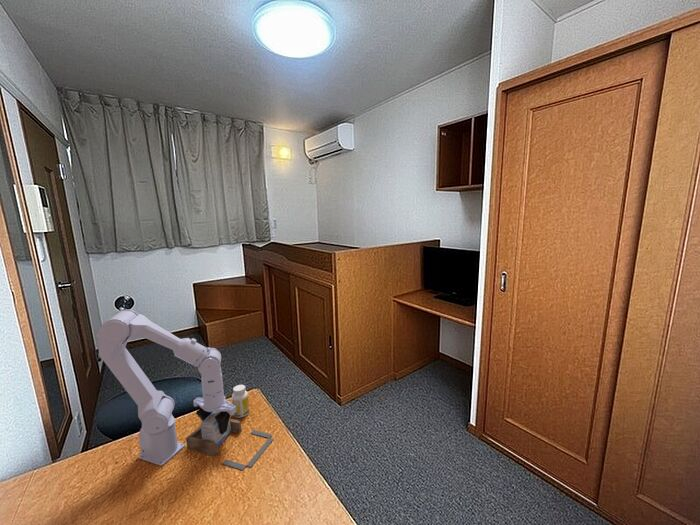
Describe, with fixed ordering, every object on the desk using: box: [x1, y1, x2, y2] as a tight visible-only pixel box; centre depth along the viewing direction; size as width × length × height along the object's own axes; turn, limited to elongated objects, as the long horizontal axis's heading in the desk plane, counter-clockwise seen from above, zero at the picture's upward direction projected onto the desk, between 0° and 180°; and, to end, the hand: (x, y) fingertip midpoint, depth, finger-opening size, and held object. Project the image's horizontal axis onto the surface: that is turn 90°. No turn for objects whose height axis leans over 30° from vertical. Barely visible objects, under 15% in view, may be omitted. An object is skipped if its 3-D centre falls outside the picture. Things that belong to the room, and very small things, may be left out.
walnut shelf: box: [185, 418, 242, 458], centre depth 93 cm, size 11×11×4 cm
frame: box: [221, 429, 274, 471], centre depth 89 cm, size 8×14×1 cm, turn 161°
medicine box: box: [200, 412, 232, 448], centre depth 93 cm, size 8×4×9 cm, turn 168°
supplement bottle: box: [231, 384, 250, 419], centre depth 105 cm, size 5×5×10 cm
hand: (216, 430), depth 93 cm, fingers closed on medicine box, 5 cm apart
